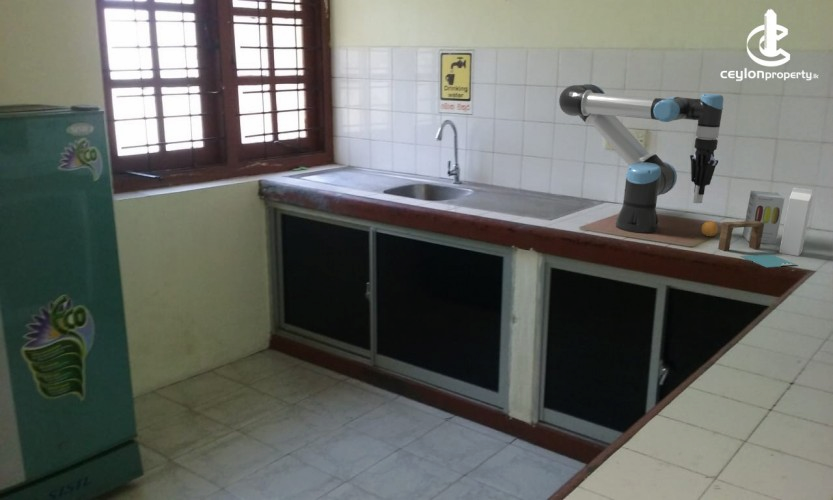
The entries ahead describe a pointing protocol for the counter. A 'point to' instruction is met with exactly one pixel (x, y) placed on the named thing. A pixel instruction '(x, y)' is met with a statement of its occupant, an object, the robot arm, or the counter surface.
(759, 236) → the bridge
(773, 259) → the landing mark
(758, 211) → the supplement box
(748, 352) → the counter surface
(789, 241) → the milk
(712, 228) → the ball
